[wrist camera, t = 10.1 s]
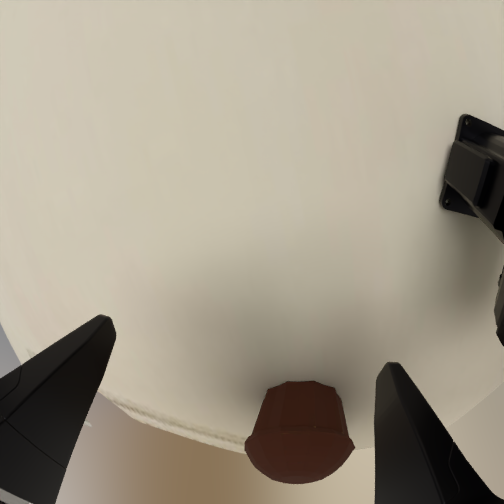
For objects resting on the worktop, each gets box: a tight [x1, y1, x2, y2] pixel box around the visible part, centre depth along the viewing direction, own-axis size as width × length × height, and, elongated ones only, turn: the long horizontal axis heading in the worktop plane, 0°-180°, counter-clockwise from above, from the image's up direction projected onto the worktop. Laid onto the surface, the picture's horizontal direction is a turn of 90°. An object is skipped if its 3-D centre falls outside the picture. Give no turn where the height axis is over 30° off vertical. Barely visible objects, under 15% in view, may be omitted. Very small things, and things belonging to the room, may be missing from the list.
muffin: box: [245, 381, 355, 484], centre depth 27 cm, size 12×11×10 cm
